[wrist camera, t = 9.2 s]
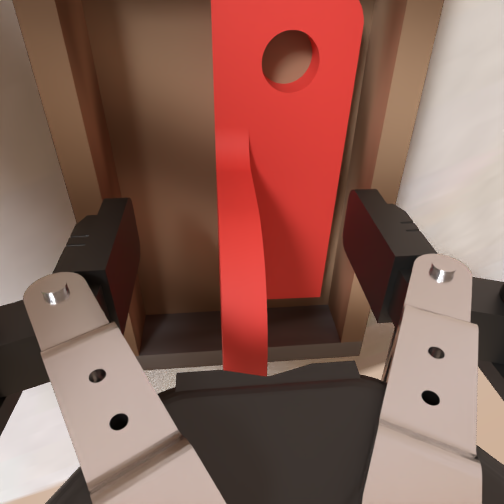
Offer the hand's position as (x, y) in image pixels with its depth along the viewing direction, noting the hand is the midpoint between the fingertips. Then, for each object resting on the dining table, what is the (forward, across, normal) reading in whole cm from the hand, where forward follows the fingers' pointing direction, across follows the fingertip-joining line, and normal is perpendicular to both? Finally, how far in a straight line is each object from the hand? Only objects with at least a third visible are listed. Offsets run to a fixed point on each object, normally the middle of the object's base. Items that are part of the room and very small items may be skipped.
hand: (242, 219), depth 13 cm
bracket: (+4, -2, 0) cm, 4 cm away
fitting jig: (+4, 0, 0) cm, 4 cm away
